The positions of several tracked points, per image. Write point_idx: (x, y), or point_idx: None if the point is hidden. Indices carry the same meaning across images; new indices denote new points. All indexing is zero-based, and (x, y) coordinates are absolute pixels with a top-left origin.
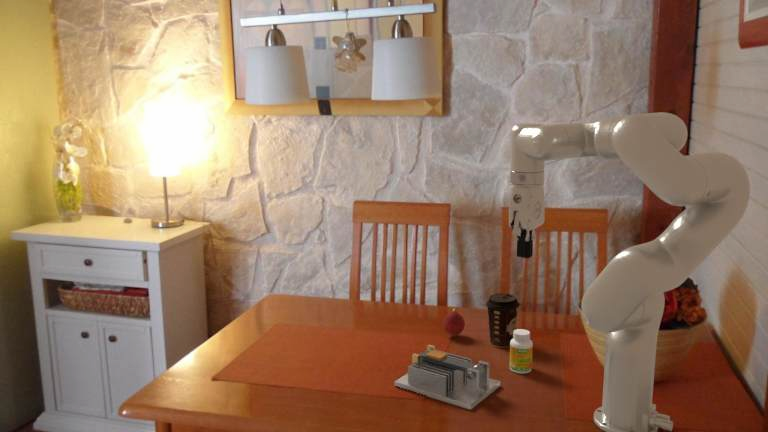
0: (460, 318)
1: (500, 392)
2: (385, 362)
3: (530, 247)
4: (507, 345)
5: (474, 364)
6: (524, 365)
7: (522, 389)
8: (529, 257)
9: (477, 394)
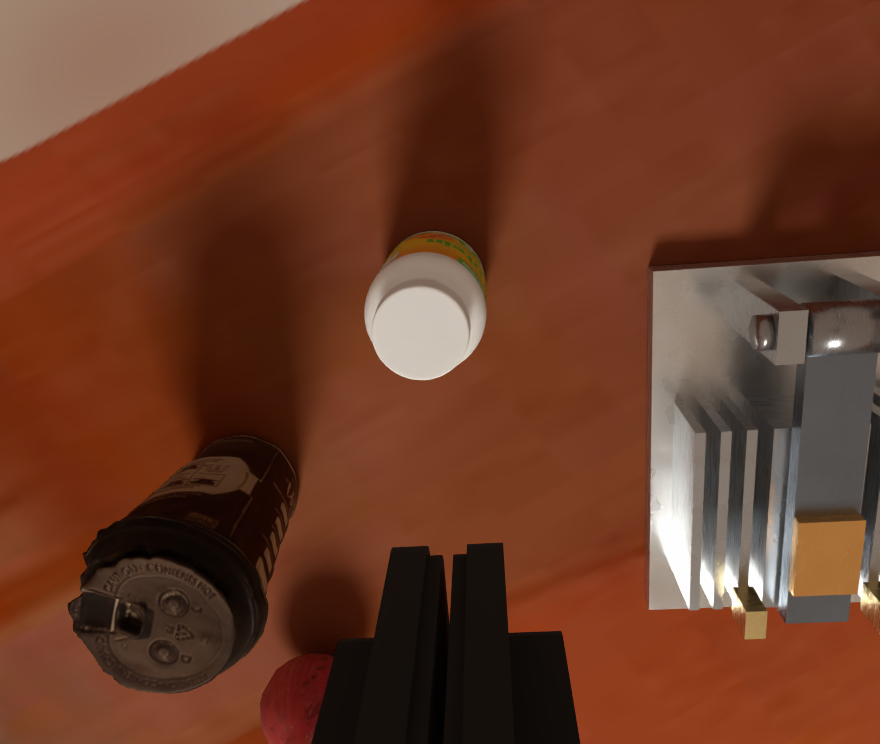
0: (302, 704)
1: (705, 232)
2: (712, 721)
3: (478, 655)
4: (264, 445)
5: (810, 369)
6: (468, 250)
7: (620, 168)
8: (497, 543)
9: (851, 275)
